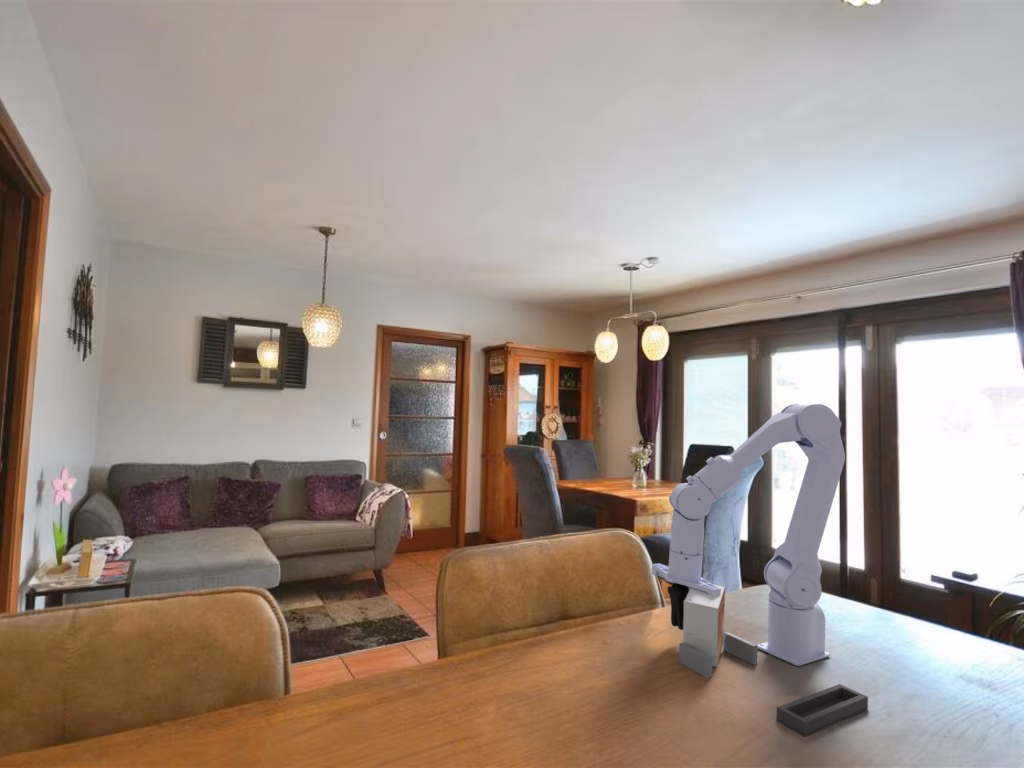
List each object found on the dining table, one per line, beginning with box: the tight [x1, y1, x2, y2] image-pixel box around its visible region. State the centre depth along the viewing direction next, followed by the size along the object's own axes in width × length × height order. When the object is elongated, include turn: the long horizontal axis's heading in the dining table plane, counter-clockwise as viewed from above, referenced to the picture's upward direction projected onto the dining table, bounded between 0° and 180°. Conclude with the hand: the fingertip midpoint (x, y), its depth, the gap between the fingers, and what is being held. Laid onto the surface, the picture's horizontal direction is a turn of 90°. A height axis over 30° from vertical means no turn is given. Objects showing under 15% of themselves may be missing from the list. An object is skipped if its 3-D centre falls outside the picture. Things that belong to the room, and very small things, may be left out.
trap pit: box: [775, 683, 869, 737], centre depth 76 cm, size 15×4×2 cm, turn 120°
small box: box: [682, 582, 726, 668], centre depth 93 cm, size 8×6×10 cm
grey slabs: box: [678, 631, 758, 679], centre depth 91 cm, size 12×6×3 cm, turn 120°
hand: (681, 627), depth 98 cm, fingers closed, pressing on small box
